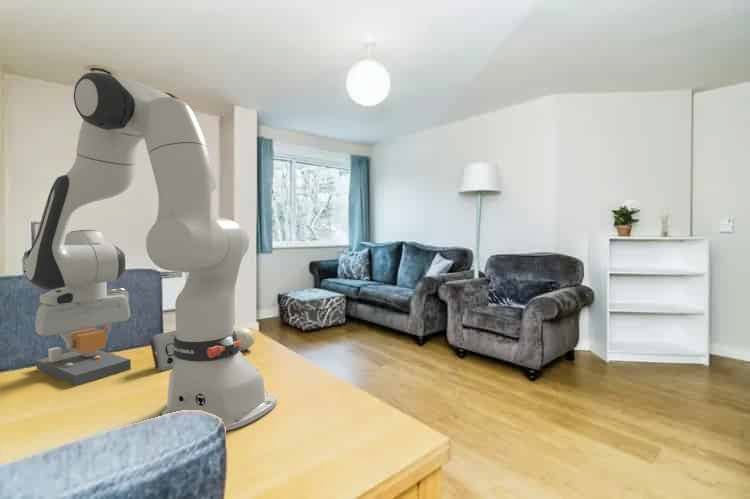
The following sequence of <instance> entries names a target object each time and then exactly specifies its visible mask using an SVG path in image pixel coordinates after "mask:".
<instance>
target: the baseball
mask: <svg viewBox="0 0 750 499" xmlns="http://www.w3.org/2000/svg"><path fill="white" fill-rule="evenodd" d="M233 331H235V333H236V336H237V339H238V340H241V339H243V341H241V342H239V344H241V343H243V344H242V345H239V346H240V350H239V351H240V352H242V351H244V352H245V351H247V350H249V349H250V348H251V347H252V346H253V345H254V344H255V342H256V337H255V334H254V333H253V331H252V330H250V329H249V328H247V327H240V328H236V329H235V330H234V329H233Z"/></svg>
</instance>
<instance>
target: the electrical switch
mask: <svg viewBox="0 0 750 499" xmlns="http://www.w3.org/2000/svg"><path fill="white" fill-rule="evenodd" d="M175 336H176V329H174V330H170V331H166V332H163V333H159V334H154V335H153V337H152V338H150V339H149V341H150V342H149V343H150V346H151V347H150V348H151V353H152V358H153V364H154V367H155V369H158V370H159V372H160V371H161V372H163V371H166V370H170V369H172V368H173V366H174V363H175V359H176V357H175V356H174V349H173V343H174V337H175Z"/></svg>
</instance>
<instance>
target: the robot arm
mask: <svg viewBox="0 0 750 499" xmlns="http://www.w3.org/2000/svg"><path fill="white" fill-rule="evenodd" d="M73 102H74V106H75V109H76V111H77V113H78V114H79V116H80V117H81V118H82V119H83V120H82V123H81V126H80V131H79V134H78V139H77V145H76V146H77V147H76V157H75V159H74V163H73V165H72V166H71V168H70V169H69V170H68V172H66V173H65V174H63V175H60V176H58V177H57V178H55V180H54V182H53V184H52V186H51V188H50V191H49V193H48V196H47V200H46V202H45V206H44V210H43V213H42V216H41V219H40V223H39V226H38V229H37V233H36V236H35V239H34V241H33V244H32V247H31V249H30V251H29V254H28V256H27V259H26V261H25V262H26V263H25V274H26V278H27V280H28V281H29V282H30V283H31V284H33V285H34V286H36V287H37V288H41V289H43V290H46V291H47V292H45V293H43V294H41V295H39V302H40V303H41V305H39V307H38V308H37V310H36V315H35V323H34V325H35V329H34V330H35V332H36V334H37V335H40V336H42V337H49V336H55V335H59V337H60V338H61V339H63V341H64V342H65V347H66V349H67V350H69V349H72V348H76V341H74V340H71V339H70V338H69V336H71V332H75V331H80V330H85V329H91V328H96V327H100V326H101V327H102V328H103V329H102V330H104V331H105V333H106V342H107V341H108V340H109V339H108V334H110V331H111V330H112V328H113V324H115V323H121V322H126V321H129V319H130V317H131V309H130V302H129V299H130V297H129V294H130V293H129V291H127V289H124V288H122V287H119V288H110V289H109V288H107V287H108V285H107V284H108V283H111V282H114V281H117V280H118V279H120V278H121V276H122V275H123V274H124V273H125V271H126V255H125V253H124V251H123V250H122V249H120V248H119V247H118V246H116V245H114V244H113V245H112V244H110V243H108V242H107V241H106V240H105V237H104V234H103V233H102V232H101V231H100V230H94V229H80V230H79V229H78V230H72V231H69V232H67V228H68V225H69V222H70V219H71V216H72V214H73V213H74V212H75V211H77V210H78V209H80V208H81V207H83V206H85V205H89V204H92V203H95V202H98V201H99V202H100V201H103V200H107V199H112V198H114V197H117V196H118V195H121V194H122V193H124V192H125V191H127V190H128V189H129V188H130V187H131V185H132V184H133V181H134V178H135V171H136V162H137V160H136V159H137V148H138V144H139V143H140V141H142V140H143V139H144V141H145V145H146V150H147V154H148V158H149V161H150V165H151V169H152V172H153V177H154V179H155V180H154V181H155V184H156V189H157V198H158V205H157V206H158V209H157V216H156V220H155V222H154V224H153V225H152V226H151V228H150V229H149V231H148V233H147V235H146V240H145V247H146V248H145V249H146V252H147V255H148V257H149V259H150V260H151V261H152V263H153V264H154V265H155V266H157V267H158V268H160V269H162V270H165V271H170V272H177V273H188V274H187V277H186V281H185V283H184V286H183V288H182V289H181V291H180V292H179V293H178V295H177V297H176V299H175V305H174V306H175V330H176V336H175V337H174V343H173V349H174V356H175V357H176V359H175V363H174V366H173V368H171V371H170V372H169V377H168V378H169V379H168V391H167V403H166V407H165V409H164V410H163V411H162V414H161V416H162V415H164V414H168V413H172V412H176V411H181V410H202V411H205V412H208V413H211V414H214V415H216V416H218V417H220V418H221V419H222V421H223V422H224V425H225V427H226V431H225V432H227V431H232V430H234V429H238V428H241V427H244V426H246V425H249V423H252V422H254V421H256V420H257V419H259V418H261V417H262V416H264V415H266V414H267V413H268V412H270V411H271V410H273V409H274V407H275V406H276V405H277V403H278V402H277V397H276V396H274V395H272V394H271V393H269V392H266V390H265V383H264V378H263V375H262V373H261V372H260V371H259V368H258V367H257V366H254V365H253V364H252V363H251V362H250V361H249V360H248V358H246V356H244V354H243V353H242V351H239V350H240V346H239V345H242V344H243V343H241V344H239V342H241V341H243V339H241V340H238V339H237V336H236V333H235V331H234V298H235V290H236V285H237V281H238V277H239V276H238V275H239V273H240V267H241V263H242V260H243V259H244V256H245V255H246V253H247V251H248V249H249V247H250V246H249V245H250V239H249V235H248V233H247V231H246V229H245V228H244V227H243V226H242V225H241V224H240V223H238V222H235V221H234V220H231V219H229V218H226V217H218V216H214V214H213V208H212V206H213V205H212V201H213V200H212V197H213V192H214V191H215V189H216V187H217V179H216V174H215V172H214V167H213V165H212V161H211V157H210V153H209V150H208V147H207V143H206V140H205V137H204V134H203V132H202V130H201V127H200V125H199V122H198V119H197V118H196V115H195V113H194V112H193V110H192V109H191V107H190V106H189V105H188V104H187V103H186V102H185V101H183V100H181V98H178V97H177V96H175V95H174V94H171V93H170V92H164V91H162V90H159V89H157V88H155V87H152V86H148V85H146V84H144V83H143V82H138V81H135V80H132V79H127V78H121V77H118V76H117V77H116V76H113V75H112V74H109V73H103V72H87V73H85V74H83V75H82V76H81V77H80V78H79V79H78V80H77V82H76V84H75V85H74V90H73ZM66 232H67V233H66ZM63 241H64V243H63ZM49 290H51V291H49Z"/></svg>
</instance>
